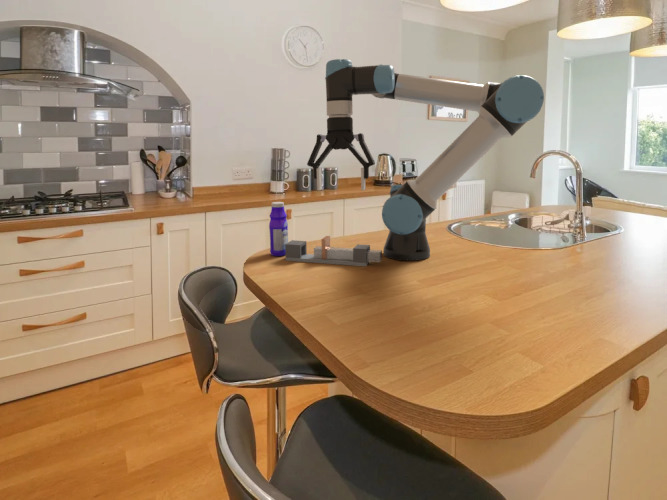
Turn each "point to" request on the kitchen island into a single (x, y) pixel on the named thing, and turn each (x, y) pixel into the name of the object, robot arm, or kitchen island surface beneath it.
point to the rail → (299, 253)
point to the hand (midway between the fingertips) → (341, 190)
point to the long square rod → (342, 252)
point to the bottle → (278, 229)
